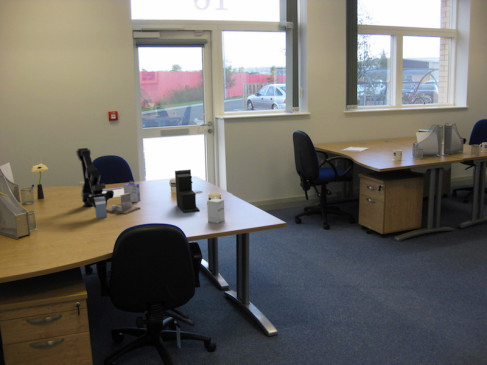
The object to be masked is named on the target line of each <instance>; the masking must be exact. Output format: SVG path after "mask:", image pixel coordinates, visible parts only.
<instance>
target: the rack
mask: <svg viewBox="0 0 487 365" xmlns="http://www.w3.org/2000/svg"><path fill="white" fill-rule="evenodd" d="M120 203H121V204H117V205H114V204H112V205H111V207H108V208H106V211H107V213H113V212H114V214H120V213H121V215H127V214H129V213H132V212H136V211H137V210H141V207H139V206H134V205H133V202H131V198H130V193H126V194H124V193H123V194H121V195H120ZM135 210H136V211H135Z"/></svg>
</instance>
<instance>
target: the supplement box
mask: <svg viewBox="0 0 487 365" xmlns="http://www.w3.org/2000/svg"><path fill="white" fill-rule="evenodd" d="M206 203H207V204H206V205H207V222H209V223H213V224H219V223H221V222H223V221H225V220H226V219H225V214H226V213H225V200H224V199H223V198H222V199H221V198H212V199H209V200H207V202H206Z"/></svg>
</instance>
